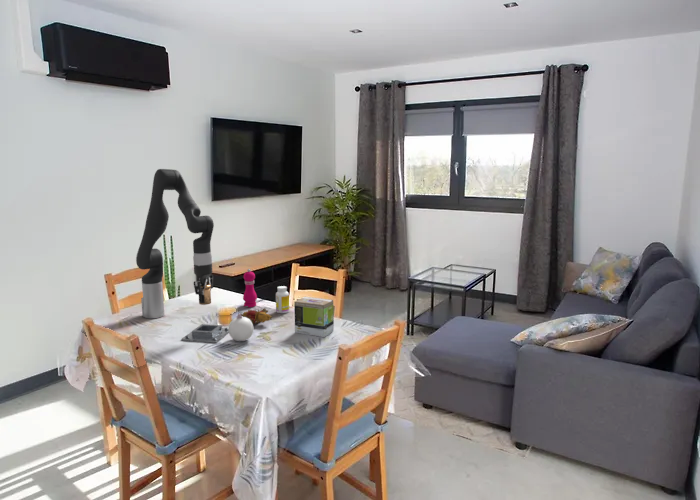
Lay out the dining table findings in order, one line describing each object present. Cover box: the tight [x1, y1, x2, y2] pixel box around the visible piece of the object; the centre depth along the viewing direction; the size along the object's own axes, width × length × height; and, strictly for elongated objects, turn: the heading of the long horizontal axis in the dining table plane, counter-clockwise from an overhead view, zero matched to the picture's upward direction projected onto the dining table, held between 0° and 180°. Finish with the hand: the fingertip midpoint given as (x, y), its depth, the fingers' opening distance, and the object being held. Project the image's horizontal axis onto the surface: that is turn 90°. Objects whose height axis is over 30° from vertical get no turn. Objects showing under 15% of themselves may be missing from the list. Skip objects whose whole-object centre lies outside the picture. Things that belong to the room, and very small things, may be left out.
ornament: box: [228, 313, 254, 342], centre depth 210 cm, size 10×10×12 cm
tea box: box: [293, 296, 335, 338], centre depth 221 cm, size 15×10×15 cm
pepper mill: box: [242, 268, 258, 308], centre depth 259 cm, size 7×7×20 cm
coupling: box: [180, 323, 229, 344], centre depth 217 cm, size 16×16×3 cm
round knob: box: [198, 284, 212, 306], centre depth 213 cm, size 6×6×8 cm
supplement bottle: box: [275, 285, 290, 314], centre depth 250 cm, size 7×7×13 cm
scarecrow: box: [239, 307, 273, 325], centre depth 233 cm, size 17×16×8 cm
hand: (205, 301), depth 214 cm, fingers closed on round knob, 5 cm apart
